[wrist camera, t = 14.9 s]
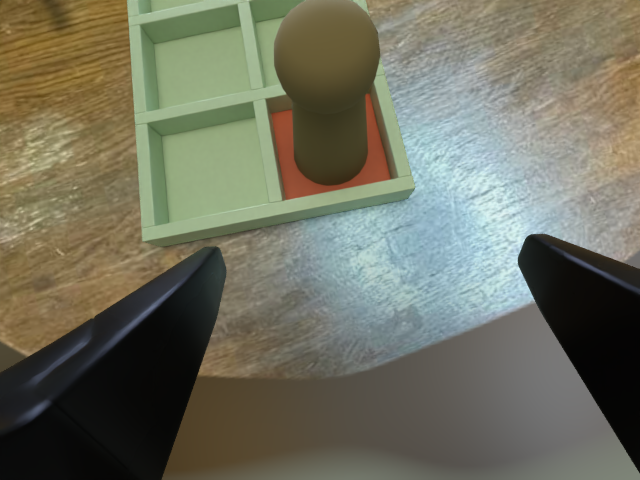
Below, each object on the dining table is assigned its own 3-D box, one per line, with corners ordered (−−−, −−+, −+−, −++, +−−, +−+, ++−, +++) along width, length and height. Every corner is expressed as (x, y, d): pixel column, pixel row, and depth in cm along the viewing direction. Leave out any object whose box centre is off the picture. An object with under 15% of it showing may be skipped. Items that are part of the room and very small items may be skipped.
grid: (407, 199, 23) (415, 187, 21) (161, 247, 23) (142, 241, 21) (318, -147, 31) (316, -184, 28) (134, -106, 31) (117, -139, 29)
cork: (289, 183, 23) (247, 83, 12) (297, 114, 24) (266, -32, 13) (365, 188, 23) (391, 90, 12) (370, 118, 24) (398, -29, 13)
